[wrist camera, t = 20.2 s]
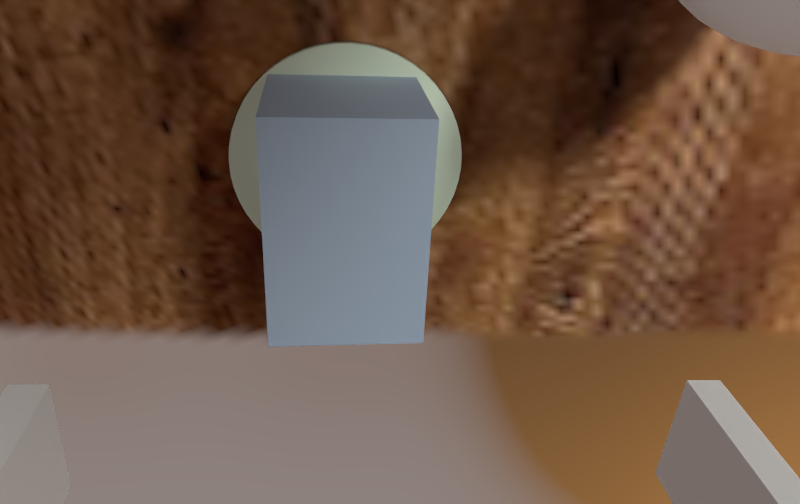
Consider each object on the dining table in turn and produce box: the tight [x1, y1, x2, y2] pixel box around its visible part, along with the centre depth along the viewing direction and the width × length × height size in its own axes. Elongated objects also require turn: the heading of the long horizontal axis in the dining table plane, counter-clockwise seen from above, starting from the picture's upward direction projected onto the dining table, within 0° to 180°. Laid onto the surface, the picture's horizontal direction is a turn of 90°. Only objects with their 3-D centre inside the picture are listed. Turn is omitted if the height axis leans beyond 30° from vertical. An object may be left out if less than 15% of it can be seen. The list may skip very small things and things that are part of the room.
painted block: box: [255, 74, 439, 347], centre depth 27 cm, size 9×6×6 cm, turn 177°
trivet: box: [229, 41, 462, 232], centre depth 30 cm, size 10×10×1 cm
